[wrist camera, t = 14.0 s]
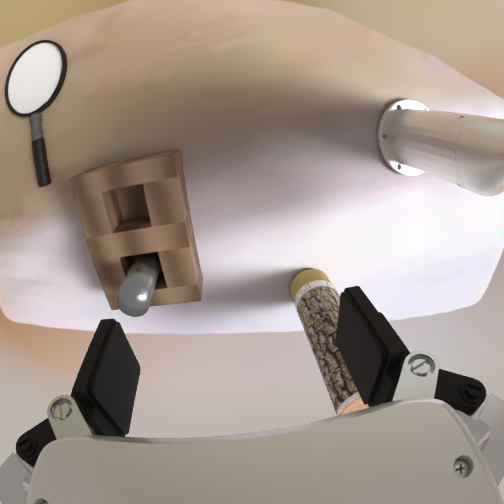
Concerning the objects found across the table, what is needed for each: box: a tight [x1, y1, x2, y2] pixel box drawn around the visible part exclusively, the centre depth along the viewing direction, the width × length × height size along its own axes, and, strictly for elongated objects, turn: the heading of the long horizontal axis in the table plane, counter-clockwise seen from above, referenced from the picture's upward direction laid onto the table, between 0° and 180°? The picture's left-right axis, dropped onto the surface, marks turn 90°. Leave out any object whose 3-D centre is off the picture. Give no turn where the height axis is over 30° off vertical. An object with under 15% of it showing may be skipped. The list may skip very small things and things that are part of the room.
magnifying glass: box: [5, 40, 67, 187], centre depth 29 cm, size 12×24×2 cm, turn 4°
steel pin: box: [116, 252, 162, 317], centre depth 36 cm, size 4×4×12 cm
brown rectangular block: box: [70, 150, 203, 310], centre depth 37 cm, size 14×20×6 cm
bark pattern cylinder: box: [290, 269, 369, 416], centre depth 36 cm, size 7×7×25 cm
